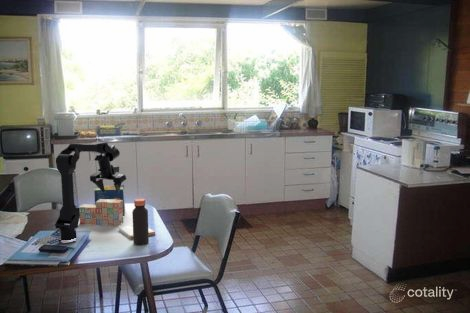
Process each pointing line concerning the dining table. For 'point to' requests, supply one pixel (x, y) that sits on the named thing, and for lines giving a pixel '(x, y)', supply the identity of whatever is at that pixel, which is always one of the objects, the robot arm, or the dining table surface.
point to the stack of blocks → (102, 212)
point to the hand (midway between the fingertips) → (111, 192)
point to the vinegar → (140, 223)
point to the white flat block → (129, 231)
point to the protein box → (110, 194)
